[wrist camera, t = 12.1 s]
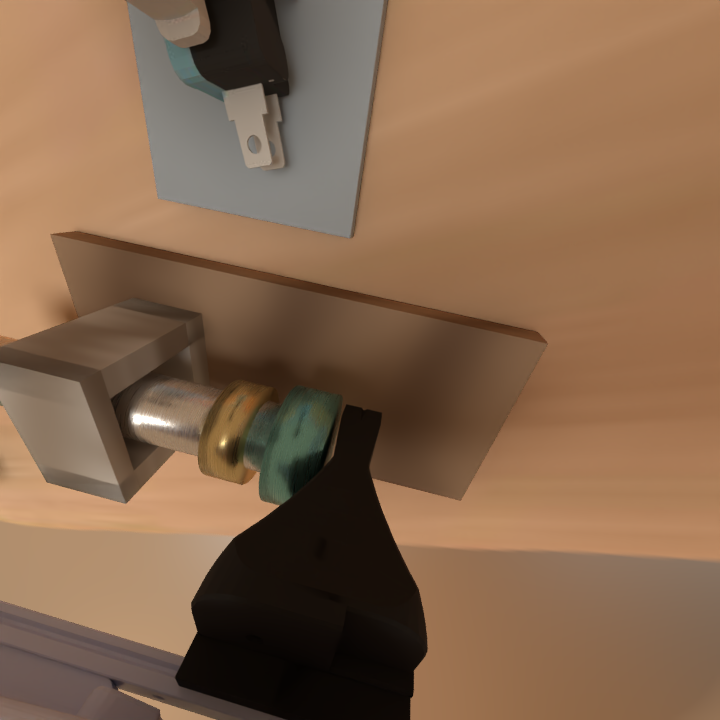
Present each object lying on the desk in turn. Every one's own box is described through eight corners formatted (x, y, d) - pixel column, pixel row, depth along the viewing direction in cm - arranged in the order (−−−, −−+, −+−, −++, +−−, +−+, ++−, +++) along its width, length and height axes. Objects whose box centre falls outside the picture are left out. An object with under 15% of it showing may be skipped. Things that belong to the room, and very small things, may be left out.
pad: (421, -229, 6) (421, -268, 6) (353, 236, 11) (350, 238, 10) (105, -266, 6) (79, -304, 6) (170, 198, 11) (158, 198, 10)
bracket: (537, 332, 11) (646, 453, 6) (458, 483, 16) (479, 629, 10) (75, 231, 12) (-180, 258, 7) (126, 400, 17) (-6, 494, 12)
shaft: (347, 374, 11) (317, 455, 8) (334, 448, 13) (305, 539, 10) (-5, 291, 12) (-175, 331, 8) (34, 373, 14) (-91, 432, 11)
